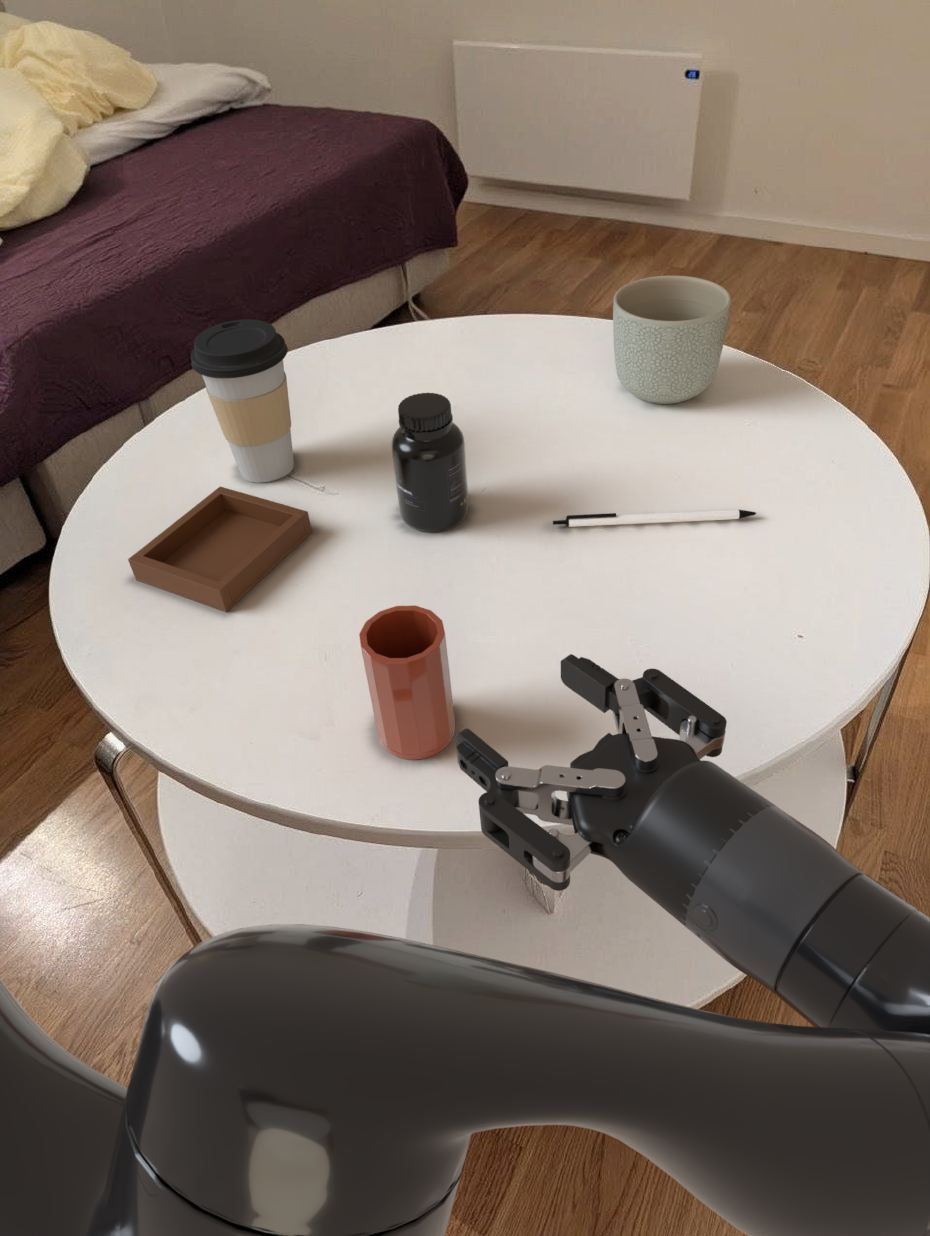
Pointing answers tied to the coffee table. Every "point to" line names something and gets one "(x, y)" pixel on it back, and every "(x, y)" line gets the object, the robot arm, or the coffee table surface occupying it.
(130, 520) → the coffee table surface
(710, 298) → the planter
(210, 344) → the coffee cup
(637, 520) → the pen
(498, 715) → the coffee table surface
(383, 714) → the tumbler
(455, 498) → the supplement bottle
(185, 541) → the tray
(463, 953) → the robot arm
